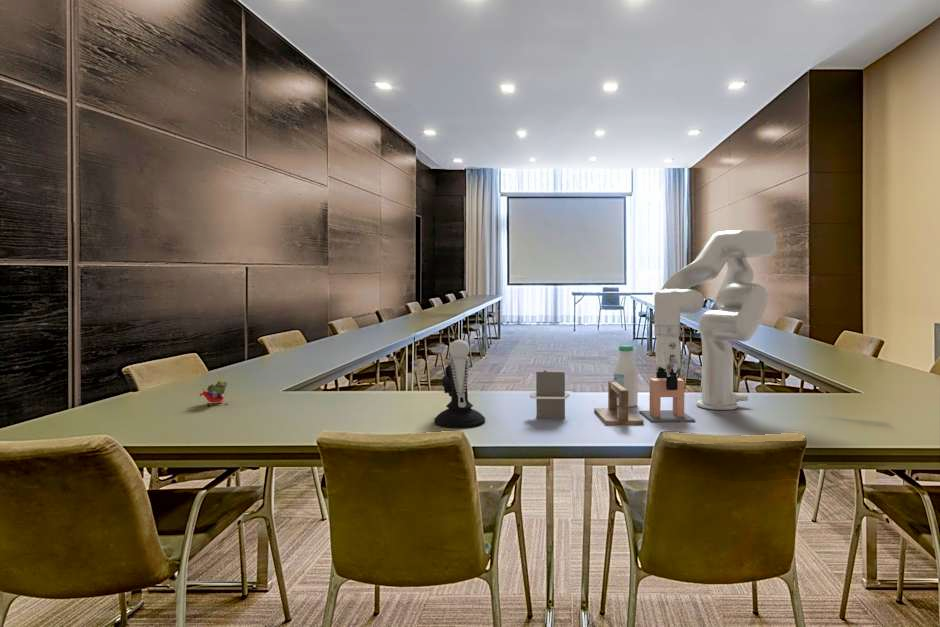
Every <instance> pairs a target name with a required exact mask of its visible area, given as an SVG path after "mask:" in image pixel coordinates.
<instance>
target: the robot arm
mask: <svg viewBox="0 0 940 627" xmlns="http://www.w3.org/2000/svg"><path fill="white" fill-rule="evenodd" d="M776 249H777V239H776V236H775V235H774V234H773V233H772V232H771V231H768V230H750V229H737V230H735V229H734V230H724V231H722V230H721V231H717V232H715V233H713V234H712V235H711V236H710V237H709V238H708V240H707V241H706V243H705V245H704V246H703V248H702V249H701V250H700V252H699V253H698V254H697V256H696V257H695V258H694V260H693V261H692V262H690V263H689V264H687V265H685V266H684V267H682V268H681V269H680V270H678V271H676V272H674V273H673V274H672V275H671V276H670V277H669V278H668V279H667V280H666V281H665V283H664V284H663V285H662V287H661V289H660V290H658V291H656V292H655V293H654V298H653V299H654V308H653V309H654V313H653V315H654V316H653V317H654V321H653V322H654V326H653V328H654V330H653V332H654V333H653V335H654V337H656V340H655V341H656V342H655V365H656V368H655V370H656V377H655V378H666V389H667V390H677V389H678V378H679V373H678V372H679V370H680V369H681V368H682V367H681V362H682V361H681V344H680V336H681V314H697V313H698V312H700V311H702V308H703V307H704V305H705V298H704V296H703V294H702V292H700V291H699V290H696V289H693V288H692V287H694V286H697V285H700V284H701V285H702V284H704V283H707V282H709V281H712V280H714V279H716V278H717V277H718V276H719V275H720V272H721V271H722V269H723V268H724V266H725V265H726V266H727V269H726V270H727V271H726V273H725V276H724V279H723V280H722V283H721V285H720V287H719V289H718V291H717V293H716V296H715V305H716V308H718V309H712V310H708V311H706V312H704V313H703V314H701V316H700V318H699V322H698V327H699V333H700V339H701V349H702V350H701V352H702V353H701V355H702V356H701V399H699V400H697V401H696V406H697V407H700V408H702V409H707V410H714V411H731V410H735V409H737V408H739V404H738V402H739V401H740V402H747V401H748V400H749V397H748V395H747V394H743V395H742V394H736V393H735V392H734V391H733V390H734V351H733V347H732V346H731V344H730V342H729V341H732V342H747V341H750V340H751V339H752V338H753V337H754V335H755V334H756V331H758V327H759V325H760V322H761V320H762V319H763V316H764V314H765V311H766V309H767V305H768V301H769V300H768V299H769V298H768V291H767V289H766V287H764V286H763V285H762V284H759V283H755V282H753V281H754V277H755V275H754V274H755V272H754V270H753V268H752V266H751V264H750V263H749V262H748V259H749V258H768V257H769V256H771V255H773V253H774V252H775V250H776ZM747 258H748V259H747ZM726 263H727V264H726Z"/></svg>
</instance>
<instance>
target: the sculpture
mask: <svg viewBox="0 0 940 627" xmlns="http://www.w3.org/2000/svg"><path fill="white" fill-rule="evenodd" d="M448 353H449V354H450V356H449V364H448V365H447V366H446V367H445V370H444V373H445V374H444V376H443V377H442V379H441V384H442V387H443V390H444V391H443V392H444V394H448V396H449V397H450V399H451V400H450V402H449V403H448V404H446V409H445V410H443V411H441V412H440V413H438V414H437V415H436V417H435V418H434V424H435V426H438V427H441V428H447V429H468V428H469V429H470V428H476V427H480V426H482V425H485V424H486V417H485V416H484V415H483V414H482V413H481V412H480V411H478V410H476V409H473V407H474V405H473V404H472V402H470V401H469V400H468V399H469V398H468V395H469V394H468V380H469V379H468V377H469V375H468V374H469V371H470V370H469V368H470V363H469V362H470V360H469V357H468V355H469V354H470V345H469V343H468V342H467V341H465V340H463V339H455V340H454V341H452V342H451V343H450V344H449V346H448Z"/></svg>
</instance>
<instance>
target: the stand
mask: <svg viewBox="0 0 940 627" xmlns="http://www.w3.org/2000/svg"><path fill="white" fill-rule="evenodd" d="M607 382H608V383H607V384H608V385H607V387H608V388H607V392H608V393H607V394H608V395H607V397H608V400H607V401H608V402H607V407H604V408H603V407H598V408H597V407H595V408H593V409H594V410H593V412H594V413H595V415H596V416H597V417H598V418H599V419H600V420H601V421H602V423H603V424H604V425H605V426H619V425H620V426H623V425H624V426H626V425H627V426H629V425H630V426H634V425H635V426H636V425H639V426H641V425H644V420H643V419H642V418H641V417H640V416H639V415H638V414H637V413H636V412H634V411H633V409H631V408H630V407H628V390H627V389H625V388H623V387H622V386H621V385H619V384H618V383H617V382H616V381H614V380H608V381H607ZM617 394H619V406H617Z"/></svg>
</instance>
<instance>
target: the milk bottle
mask: <svg viewBox="0 0 940 627" xmlns="http://www.w3.org/2000/svg"><path fill="white" fill-rule="evenodd" d="M633 350H634V346H633V345H631V344H622V345H619V346H618V353H619V356H618V358H617V361H616V362H615V366H614V369H613V370H614V371H613V381H616V382H617V383H618V384H619V385H621V386H622V387H623V388H625V389H627V390H628V408H632V407H636V406H638V401H639V400H638V399H639V398H638V397H639V396H638V393H639V392H638V389H639V388H638V384H639V382H638V380H639V379H638V378H639V377H638V367H637V364H636V362H635V360H634V357H633V352H634V351H633ZM617 407H619V394H617Z"/></svg>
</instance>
